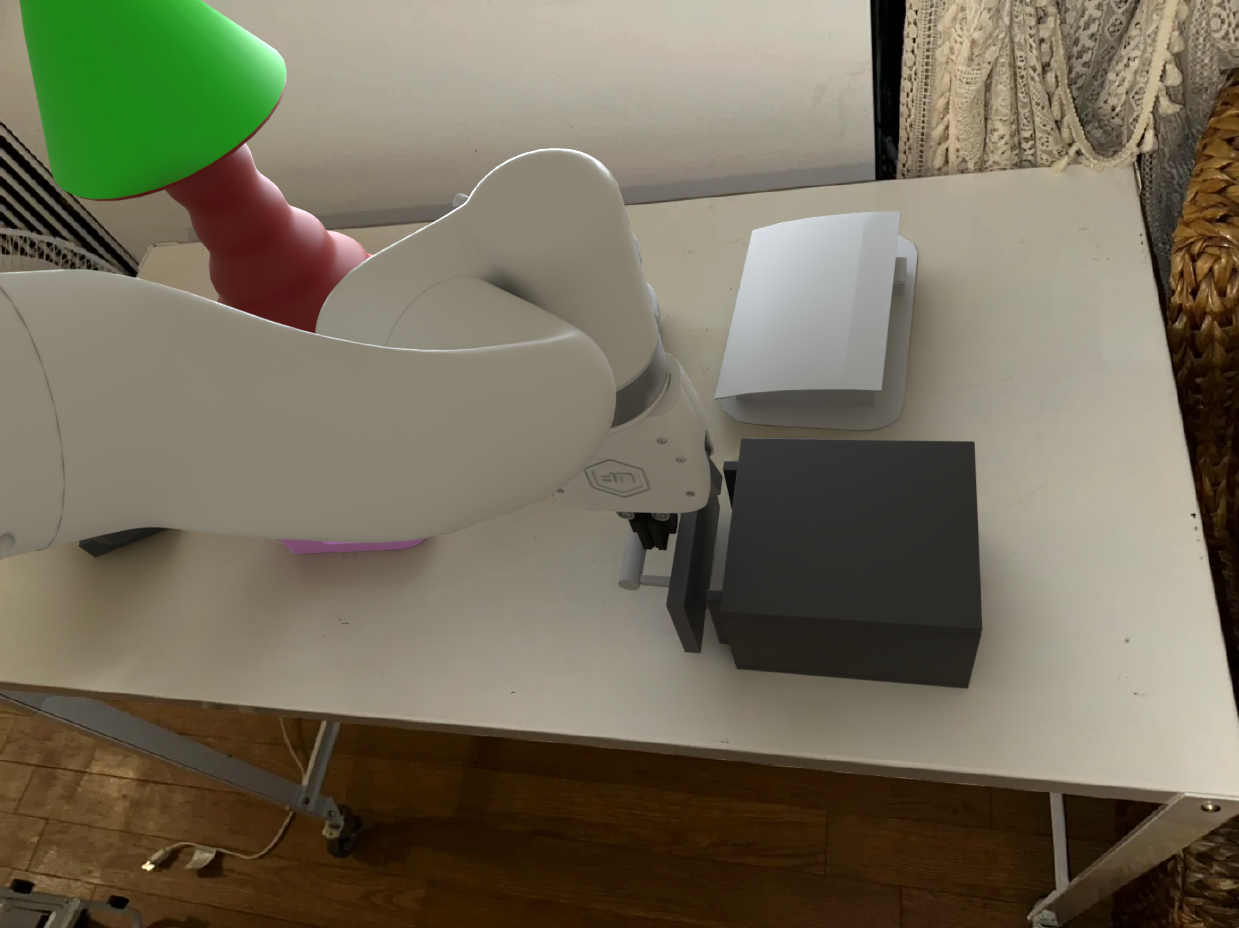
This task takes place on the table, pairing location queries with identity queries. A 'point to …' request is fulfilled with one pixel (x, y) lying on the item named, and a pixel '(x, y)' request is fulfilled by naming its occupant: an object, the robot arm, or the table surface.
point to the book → (822, 324)
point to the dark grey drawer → (686, 570)
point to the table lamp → (182, 139)
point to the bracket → (343, 546)
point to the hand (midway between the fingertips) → (658, 531)
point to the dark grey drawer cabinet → (855, 560)
